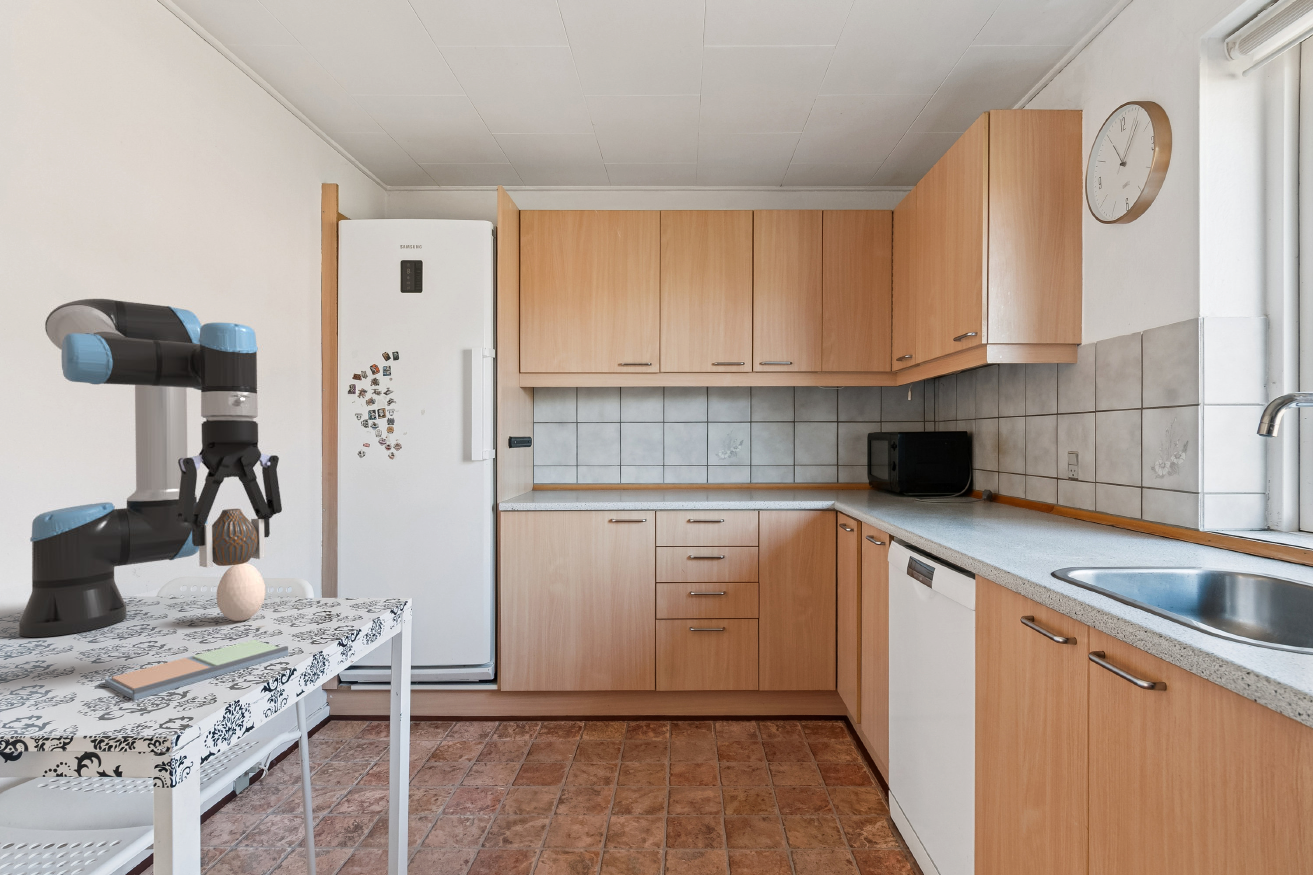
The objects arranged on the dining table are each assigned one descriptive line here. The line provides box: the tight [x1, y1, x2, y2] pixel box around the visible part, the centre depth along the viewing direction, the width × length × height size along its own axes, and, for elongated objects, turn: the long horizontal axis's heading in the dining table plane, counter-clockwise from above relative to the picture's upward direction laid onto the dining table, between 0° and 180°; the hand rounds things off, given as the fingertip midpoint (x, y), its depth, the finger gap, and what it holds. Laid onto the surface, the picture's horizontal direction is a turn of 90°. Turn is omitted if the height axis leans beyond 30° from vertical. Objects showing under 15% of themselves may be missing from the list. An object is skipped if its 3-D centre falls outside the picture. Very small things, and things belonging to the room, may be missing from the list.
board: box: [104, 639, 289, 701], centre depth 94 cm, size 11×20×1 cm, turn 148°
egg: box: [215, 562, 266, 622], centre depth 120 cm, size 8×8×11 cm
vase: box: [211, 508, 258, 567], centre depth 98 cm, size 7×7×9 cm
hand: (232, 561), depth 98 cm, fingers closed on vase, 7 cm apart
